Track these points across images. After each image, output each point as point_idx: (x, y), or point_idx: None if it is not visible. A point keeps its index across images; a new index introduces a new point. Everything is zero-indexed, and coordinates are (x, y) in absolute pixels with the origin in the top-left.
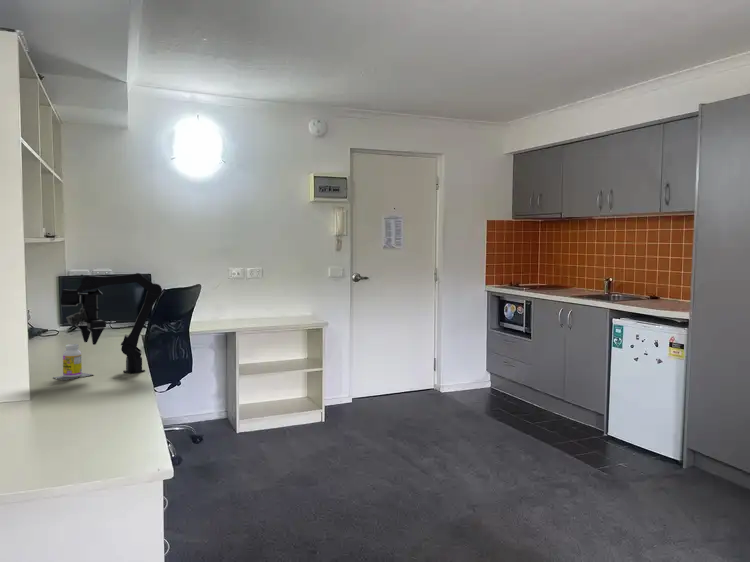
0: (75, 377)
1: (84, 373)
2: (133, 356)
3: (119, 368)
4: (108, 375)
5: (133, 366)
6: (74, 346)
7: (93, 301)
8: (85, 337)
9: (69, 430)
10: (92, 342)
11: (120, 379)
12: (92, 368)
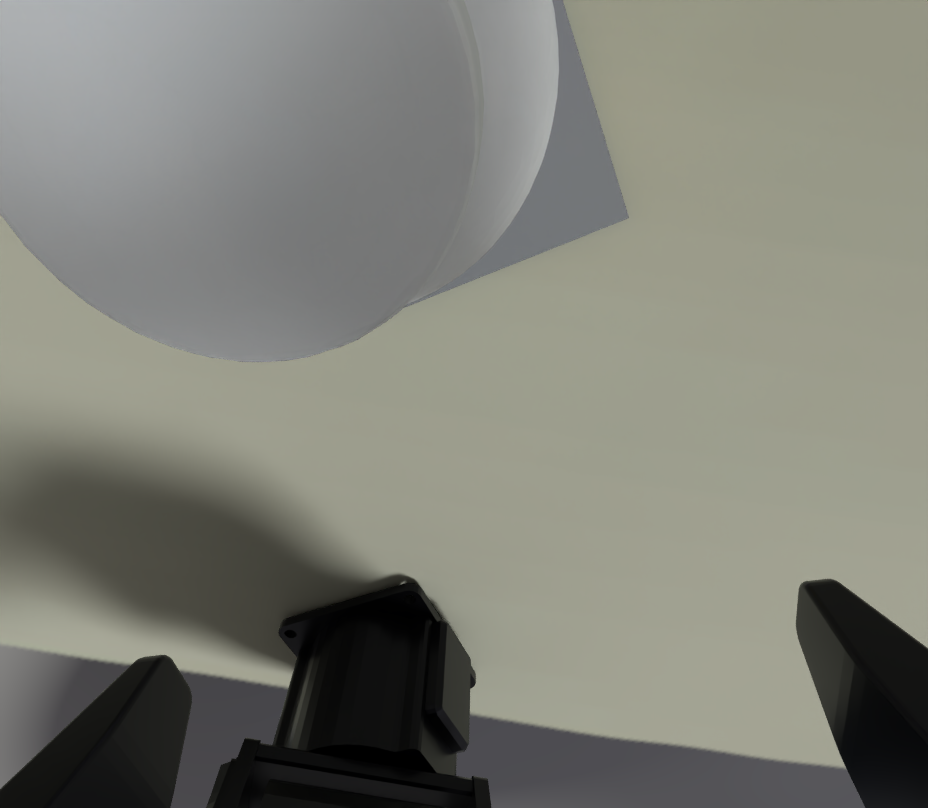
0: None
1: (522, 235)
2: (209, 802)
3: (660, 593)
4: (307, 447)
5: (302, 690)
6: (4, 171)
7: None
8: (882, 739)
9: None
10: (117, 699)
11: (28, 495)
12: (897, 385)
